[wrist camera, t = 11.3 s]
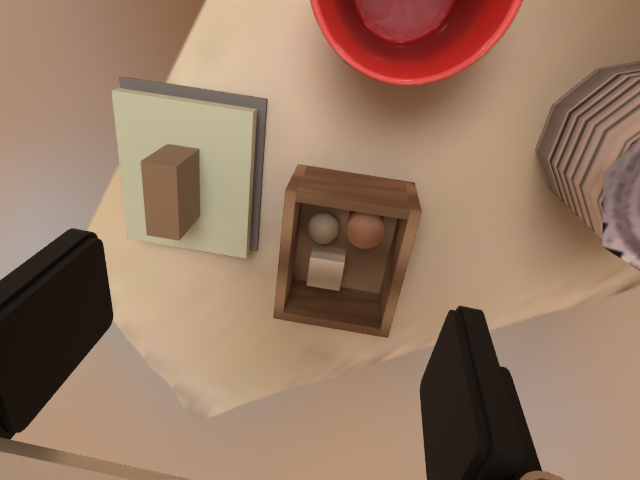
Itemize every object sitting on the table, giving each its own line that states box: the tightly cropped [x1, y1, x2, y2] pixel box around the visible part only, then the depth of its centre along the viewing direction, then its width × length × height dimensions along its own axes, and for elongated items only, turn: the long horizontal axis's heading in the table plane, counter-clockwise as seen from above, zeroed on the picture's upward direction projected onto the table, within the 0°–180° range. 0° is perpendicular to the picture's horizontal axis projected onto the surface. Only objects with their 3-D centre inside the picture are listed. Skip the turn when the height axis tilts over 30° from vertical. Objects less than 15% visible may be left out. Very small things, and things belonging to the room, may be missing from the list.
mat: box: [119, 77, 267, 251], centre depth 37 cm, size 14×12×1 cm
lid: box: [112, 88, 257, 258], centre depth 34 cm, size 13×11×7 cm
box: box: [273, 164, 422, 338], centre depth 36 cm, size 12×10×6 cm
